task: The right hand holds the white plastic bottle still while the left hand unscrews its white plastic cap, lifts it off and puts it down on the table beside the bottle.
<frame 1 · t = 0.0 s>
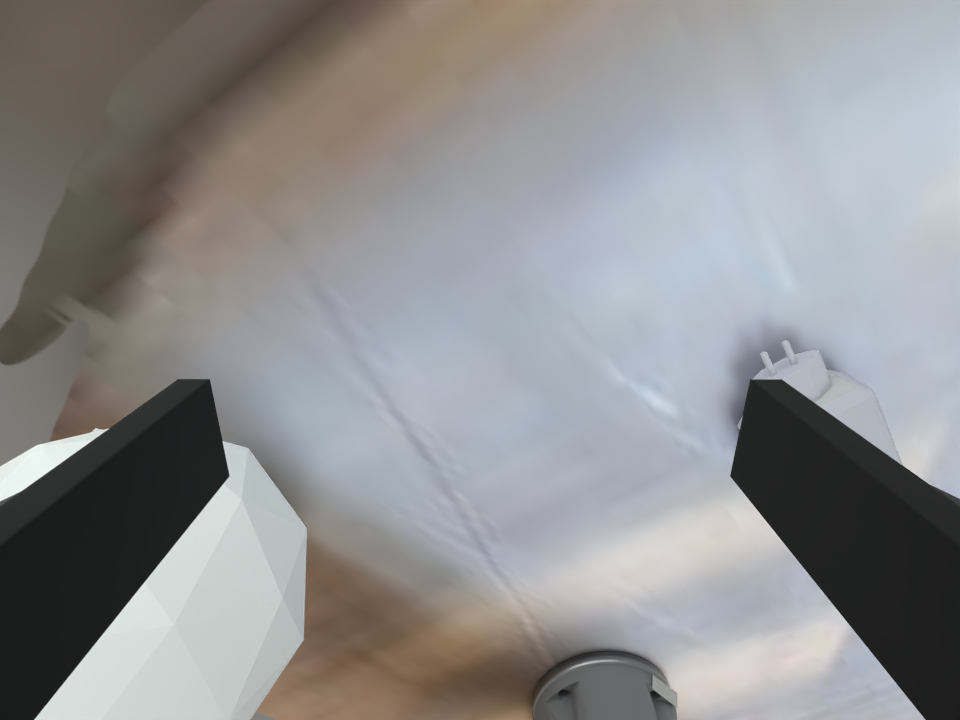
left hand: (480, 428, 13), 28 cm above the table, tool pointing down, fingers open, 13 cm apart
charger: (788, 406, 44), on the table
decorative sphere: (210, 495, 47), on the table
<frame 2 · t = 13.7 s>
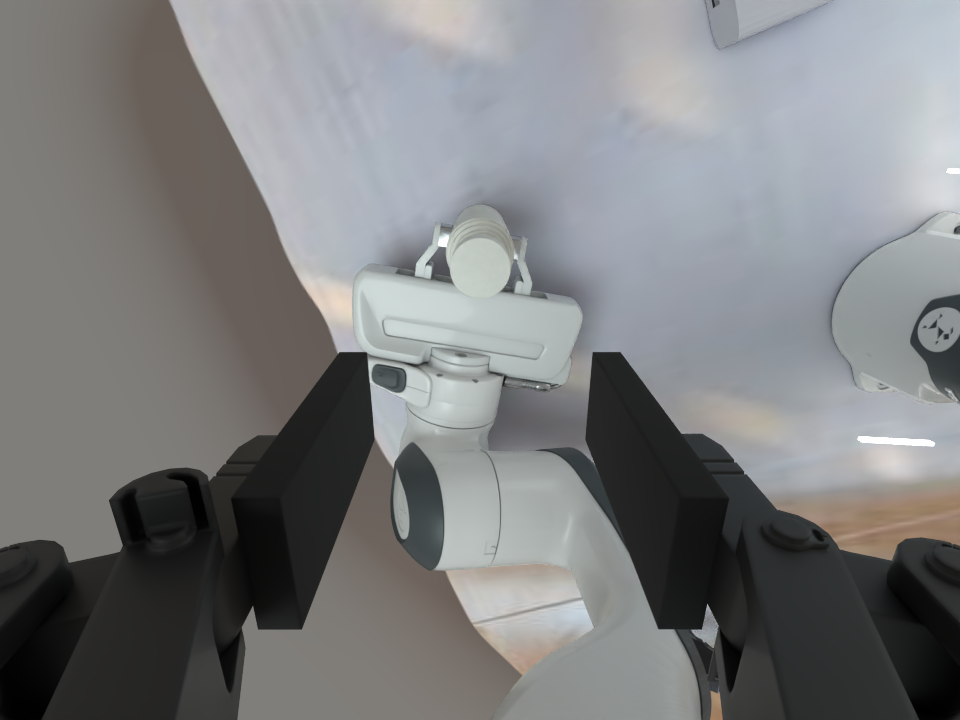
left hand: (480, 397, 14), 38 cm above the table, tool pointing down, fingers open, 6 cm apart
right hand: (481, 230, 43), fingers closed on bottle, 5 cm apart
futuristic handgun: (767, 615, 67), on the table
cap: (480, 268, 32), point 19 cm above the table, screwed on, not yet turned
bottle: (479, 231, 50), on the table, touching right hand
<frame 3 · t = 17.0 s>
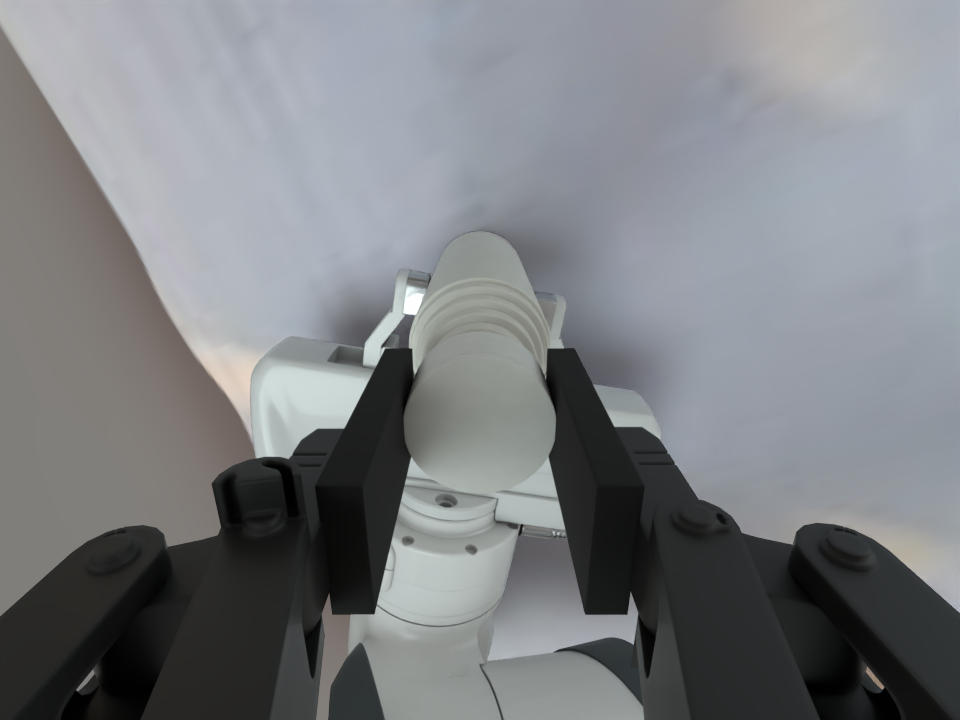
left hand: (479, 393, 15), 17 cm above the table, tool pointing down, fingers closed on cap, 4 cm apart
right hand: (482, 283, 24), fingers closed on bottle, 5 cm apart
cap: (479, 423, 13), point 19 cm above the table, screwed on, not yet turned, touching left hand
bottle: (479, 274, 30), on the table, touching right hand
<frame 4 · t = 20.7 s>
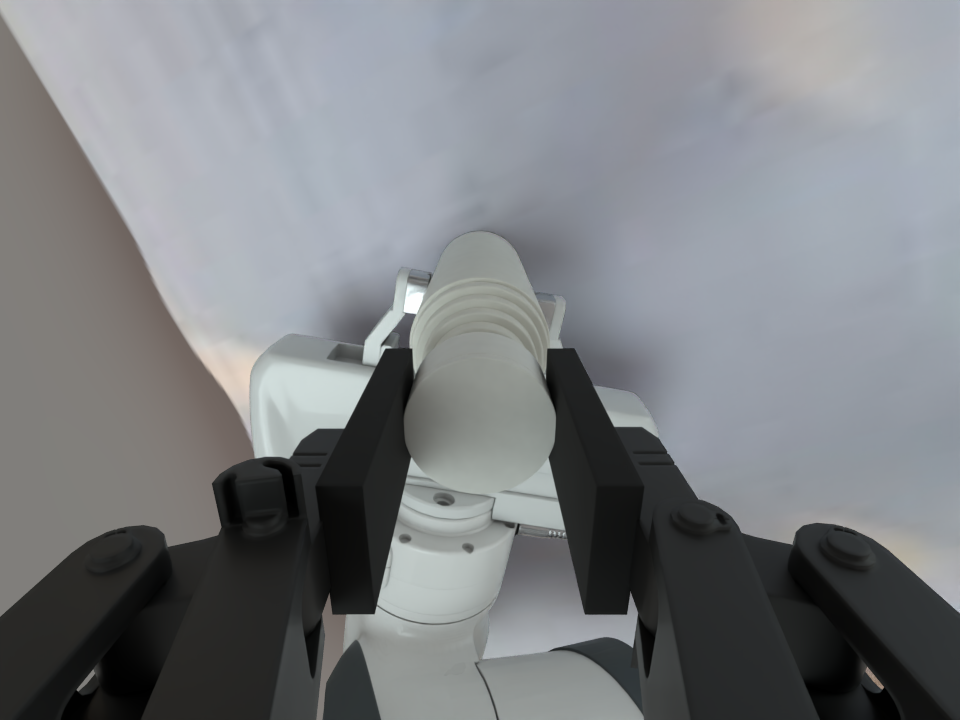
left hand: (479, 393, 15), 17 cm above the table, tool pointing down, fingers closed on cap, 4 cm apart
right hand: (482, 283, 24), fingers closed on bottle, 5 cm apart
cap: (479, 424, 13), point 19 cm above the table, turned 137° so far, risen 0.1 cm, still on its thread, touching left hand
bottle: (479, 274, 31), on the table, touching right hand
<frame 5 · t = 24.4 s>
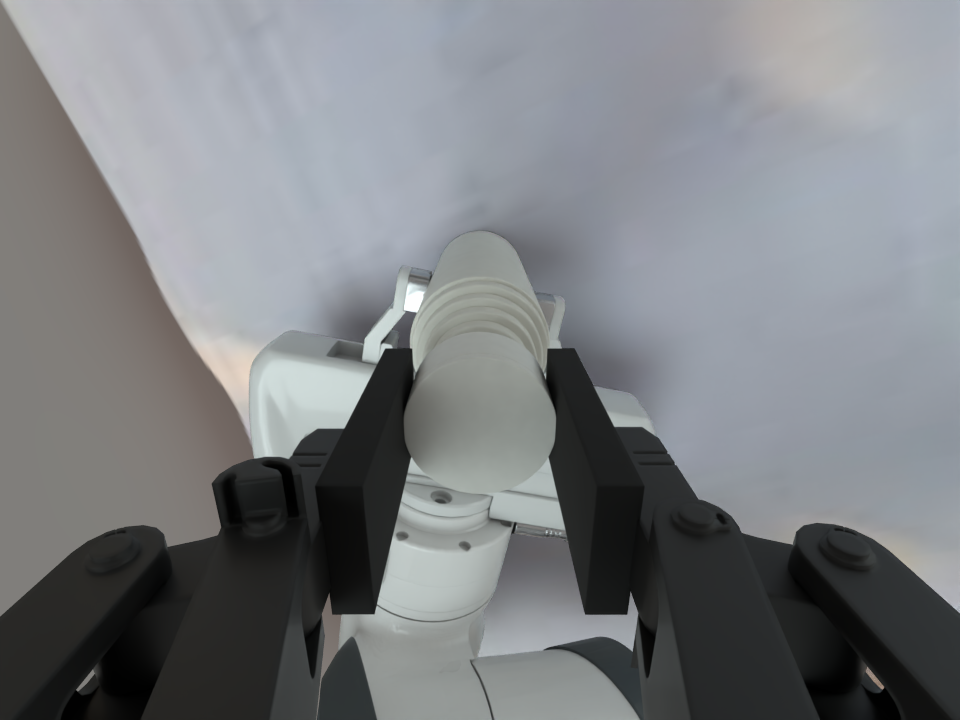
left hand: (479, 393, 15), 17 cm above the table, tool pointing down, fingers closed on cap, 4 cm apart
right hand: (482, 283, 24), fingers closed on bottle, 5 cm apart
cap: (479, 424, 13), point 19 cm above the table, turned 275° so far, risen 0.2 cm, still on its thread, touching left hand
bottle: (479, 273, 31), on the table, touching right hand
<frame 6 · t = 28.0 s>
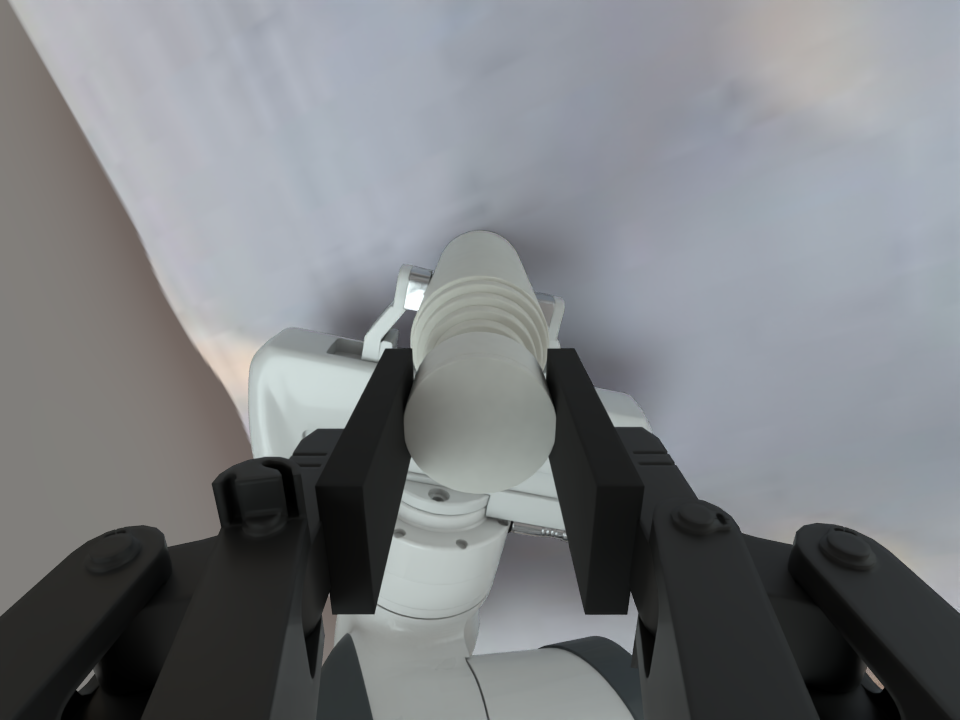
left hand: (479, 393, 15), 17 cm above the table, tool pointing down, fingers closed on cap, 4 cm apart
right hand: (482, 282, 24), fingers closed on bottle, 5 cm apart
cap: (479, 423, 13), point 19 cm above the table, turned 412° so far, risen 0.4 cm, still on its thread, touching left hand
bottle: (479, 273, 31), on the table, touching right hand
when the left hand's fingers open (1 cm above the table, at t = 35.6 s): cap drops 1 cm, point 2 cm above the table.
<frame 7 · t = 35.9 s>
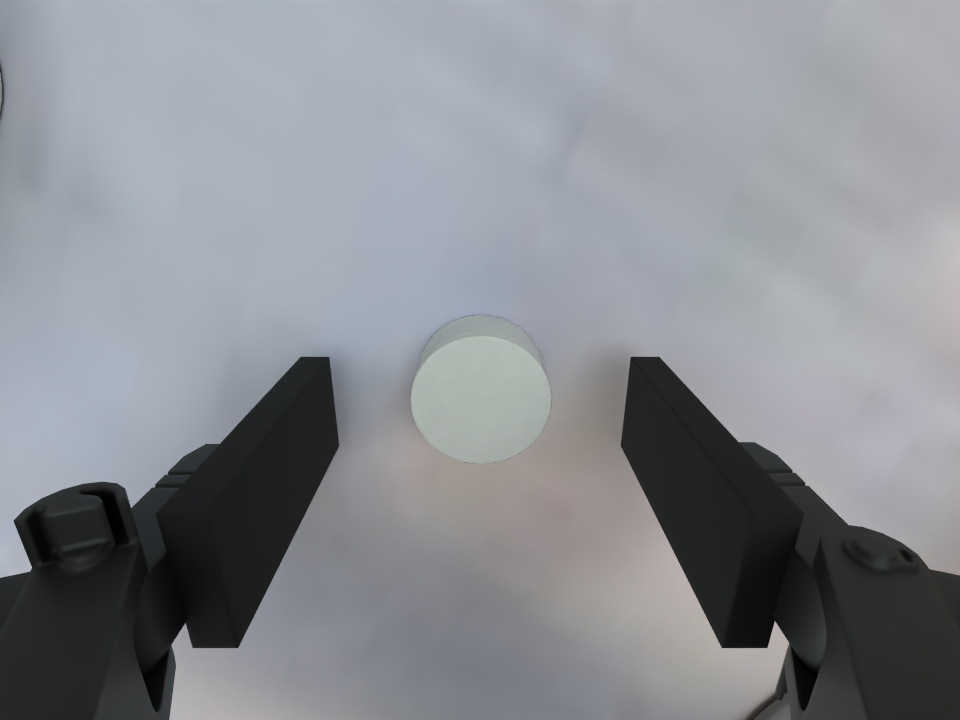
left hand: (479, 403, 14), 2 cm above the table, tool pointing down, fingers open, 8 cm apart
cap: (481, 398, 14), point 2 cm above the table, off its thread
when the right hand's fingers open (7 cm above the table, at t = 36.9 s): bottle stays where it is, on the table.
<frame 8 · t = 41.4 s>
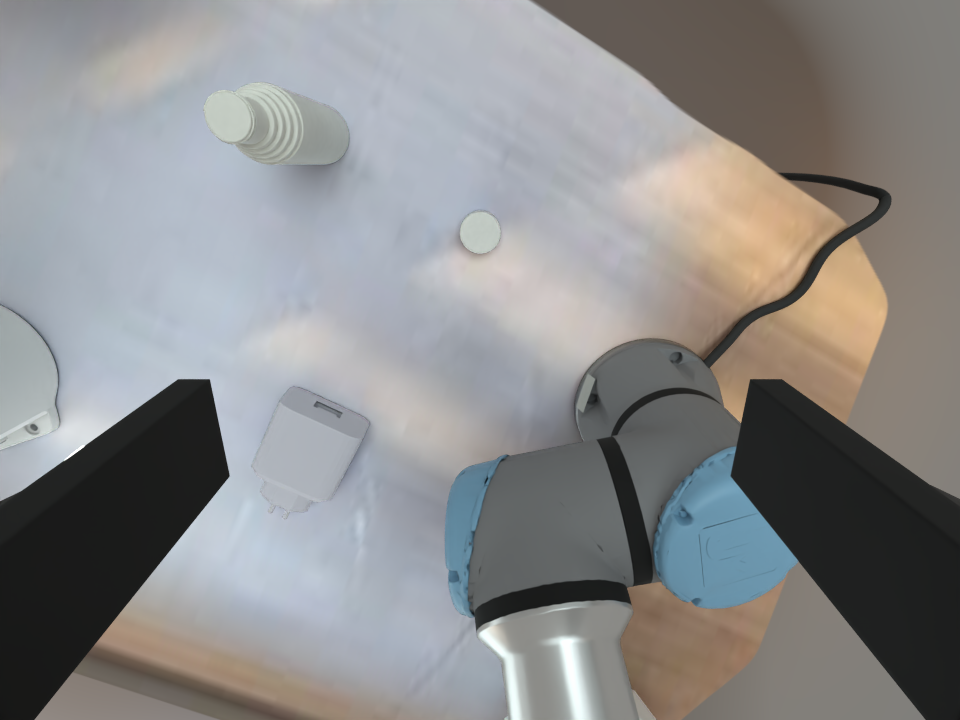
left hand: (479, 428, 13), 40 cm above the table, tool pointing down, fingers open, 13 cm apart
cap: (480, 232, 48), point 2 cm above the table, off its thread
charger: (308, 453, 59), on the table
bottle: (321, 134, 47), on the table
decorative sphere: (571, 696, 73), on the table
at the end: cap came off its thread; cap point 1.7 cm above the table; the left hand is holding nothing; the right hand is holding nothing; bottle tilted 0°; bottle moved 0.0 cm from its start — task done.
